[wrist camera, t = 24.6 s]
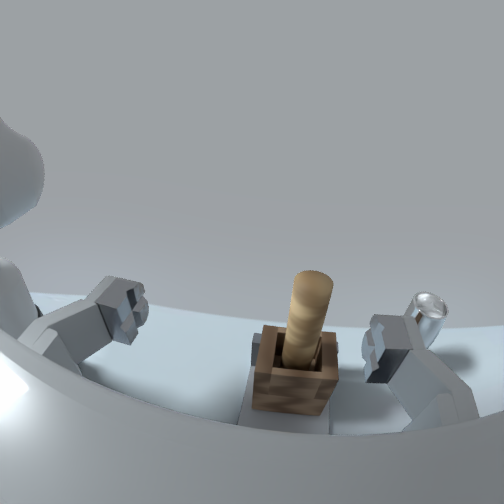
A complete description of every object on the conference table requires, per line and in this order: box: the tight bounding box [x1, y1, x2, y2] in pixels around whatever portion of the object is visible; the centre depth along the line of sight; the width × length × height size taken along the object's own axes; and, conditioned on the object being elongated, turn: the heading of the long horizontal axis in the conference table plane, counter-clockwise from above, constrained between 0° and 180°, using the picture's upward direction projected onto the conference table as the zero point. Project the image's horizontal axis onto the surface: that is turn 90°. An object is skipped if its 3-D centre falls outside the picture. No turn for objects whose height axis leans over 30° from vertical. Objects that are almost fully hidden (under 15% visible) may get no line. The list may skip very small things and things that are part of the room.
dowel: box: [280, 270, 333, 371], centre depth 31 cm, size 4×4×16 cm
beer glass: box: [404, 292, 449, 350], centre depth 38 cm, size 7×7×15 cm
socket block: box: [252, 325, 339, 416], centre depth 35 cm, size 10×8×10 cm
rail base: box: [237, 333, 338, 435], centre depth 34 cm, size 13×19×7 cm
